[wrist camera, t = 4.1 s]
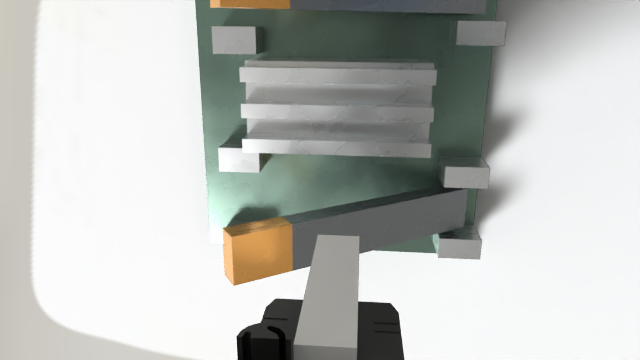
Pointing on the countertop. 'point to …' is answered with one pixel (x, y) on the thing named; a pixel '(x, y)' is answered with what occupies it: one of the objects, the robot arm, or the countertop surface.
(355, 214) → the lever
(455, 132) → the circuit board
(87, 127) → the countertop surface
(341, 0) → the lever
